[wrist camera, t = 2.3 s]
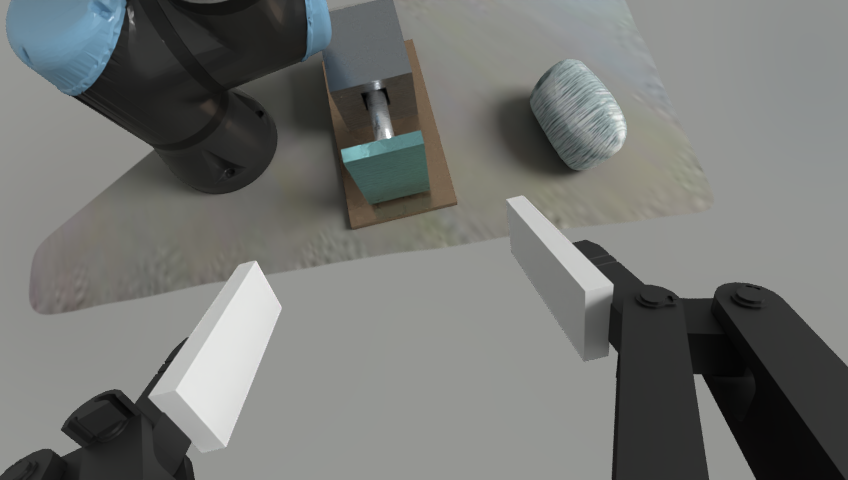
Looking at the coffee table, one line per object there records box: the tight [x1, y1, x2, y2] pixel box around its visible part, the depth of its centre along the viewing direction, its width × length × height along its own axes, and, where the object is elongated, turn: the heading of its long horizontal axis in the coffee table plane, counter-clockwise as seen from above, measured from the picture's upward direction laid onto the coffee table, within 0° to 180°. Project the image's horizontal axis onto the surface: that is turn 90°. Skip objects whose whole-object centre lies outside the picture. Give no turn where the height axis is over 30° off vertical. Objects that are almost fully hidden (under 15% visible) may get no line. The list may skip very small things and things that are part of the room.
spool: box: [530, 59, 627, 170], centre depth 43 cm, size 14×10×10 cm
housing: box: [322, 0, 457, 230], centre depth 44 cm, size 27×14×9 cm, turn 13°
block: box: [341, 88, 430, 205], centre depth 40 cm, size 14×8×11 cm, turn 13°
